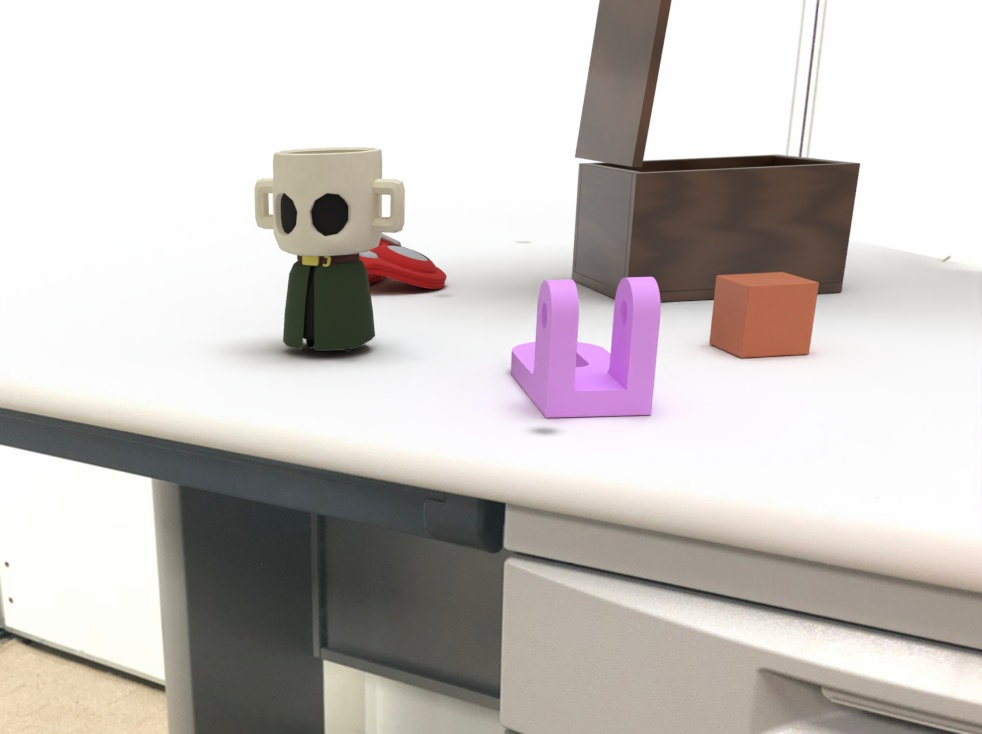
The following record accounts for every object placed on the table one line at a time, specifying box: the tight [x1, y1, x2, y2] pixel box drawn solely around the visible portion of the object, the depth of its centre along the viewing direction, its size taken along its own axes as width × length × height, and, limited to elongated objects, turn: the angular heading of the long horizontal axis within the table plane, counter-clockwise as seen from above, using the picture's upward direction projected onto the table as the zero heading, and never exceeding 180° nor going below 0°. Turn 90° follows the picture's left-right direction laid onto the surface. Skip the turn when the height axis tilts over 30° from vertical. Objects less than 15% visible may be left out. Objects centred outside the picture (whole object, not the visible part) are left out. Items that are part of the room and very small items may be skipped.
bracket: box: [510, 277, 662, 419], centre depth 69 cm, size 13×6×7 cm, turn 178°
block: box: [708, 272, 819, 359], centre depth 76 cm, size 4×4×4 cm
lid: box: [574, 0, 672, 167], centre depth 92 cm, size 18×13×6 cm
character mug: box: [253, 146, 406, 352], centre depth 80 cm, size 11×7×13 cm, turn 60°
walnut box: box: [571, 153, 861, 303], centre depth 98 cm, size 18×13×10 cm
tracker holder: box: [359, 233, 447, 290], centre depth 106 cm, size 12×4×10 cm
